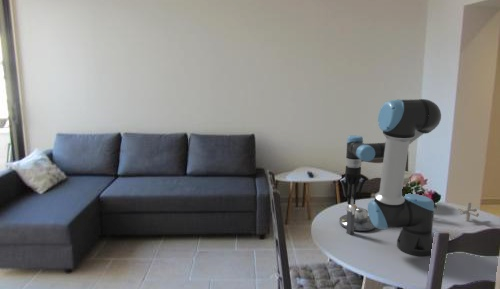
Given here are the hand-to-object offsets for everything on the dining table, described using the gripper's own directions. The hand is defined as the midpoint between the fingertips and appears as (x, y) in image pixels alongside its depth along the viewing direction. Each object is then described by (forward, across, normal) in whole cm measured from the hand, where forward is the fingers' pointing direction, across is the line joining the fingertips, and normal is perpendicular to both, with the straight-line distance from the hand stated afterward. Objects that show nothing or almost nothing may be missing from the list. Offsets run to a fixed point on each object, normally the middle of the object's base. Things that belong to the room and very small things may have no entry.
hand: (350, 210), depth 198 cm
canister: (+3, +34, +16) cm, 37 cm away
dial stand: (+4, -7, -19) cm, 21 cm away
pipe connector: (+3, +56, -12) cm, 57 cm away
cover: (+2, +1, -9) cm, 9 cm away
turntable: (+4, 0, -9) cm, 10 cm away
